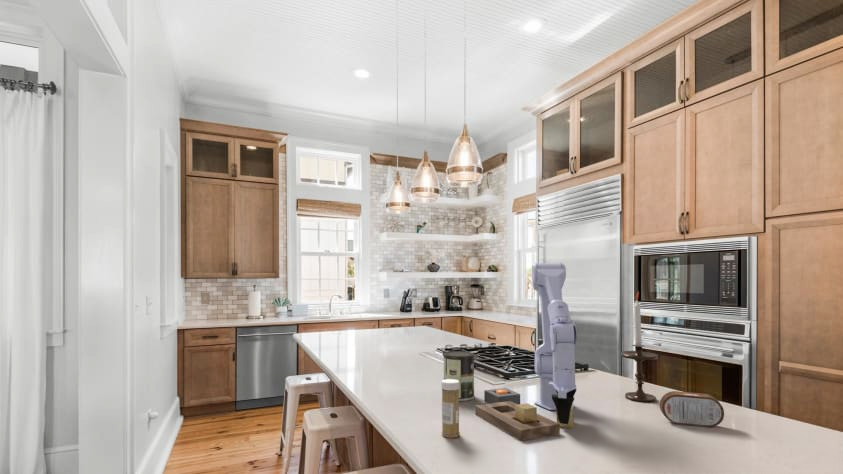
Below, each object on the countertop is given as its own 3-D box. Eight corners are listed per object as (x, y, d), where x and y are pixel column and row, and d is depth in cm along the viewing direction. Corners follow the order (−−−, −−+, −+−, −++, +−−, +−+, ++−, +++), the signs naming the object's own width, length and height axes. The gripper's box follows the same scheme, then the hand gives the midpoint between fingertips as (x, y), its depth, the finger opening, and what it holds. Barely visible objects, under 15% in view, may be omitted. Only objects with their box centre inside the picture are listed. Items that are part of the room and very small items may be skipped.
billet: (527, 426, 118) (527, 403, 119) (537, 431, 115) (536, 407, 115) (515, 428, 117) (514, 404, 117) (524, 433, 113) (523, 409, 114)
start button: (503, 396, 141) (503, 389, 141) (510, 399, 138) (510, 391, 138) (494, 397, 140) (493, 390, 140) (500, 400, 136) (500, 392, 137)
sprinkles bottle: (463, 436, 111) (463, 381, 112) (448, 439, 108) (448, 383, 110) (452, 430, 115) (452, 377, 116) (437, 434, 112) (437, 379, 113)
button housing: (505, 398, 144) (505, 387, 144) (520, 405, 136) (520, 394, 137) (484, 401, 141) (484, 390, 141) (498, 408, 133) (498, 396, 134)
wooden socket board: (510, 409, 133) (510, 400, 133) (559, 434, 112) (559, 423, 113) (475, 414, 128) (475, 405, 128) (520, 440, 108) (520, 430, 108)
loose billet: (558, 421, 122) (557, 399, 122) (573, 423, 120) (572, 401, 121) (556, 426, 118) (556, 403, 119) (572, 428, 117) (572, 405, 117)
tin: (722, 426, 119) (720, 393, 120) (726, 430, 116) (724, 397, 117) (660, 420, 124) (658, 389, 124) (662, 424, 121) (661, 392, 121)
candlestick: (667, 401, 142) (662, 291, 144) (641, 405, 138) (637, 291, 140) (639, 392, 152) (635, 290, 155) (614, 395, 148) (611, 290, 151)
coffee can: (472, 392, 151) (472, 350, 152) (476, 401, 141) (475, 356, 142) (442, 392, 151) (442, 350, 153) (443, 401, 141) (443, 356, 142)
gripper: (551, 361, 129) (552, 409, 128) (545, 371, 115) (546, 425, 114) (577, 363, 126) (578, 412, 125) (574, 374, 113) (575, 429, 112)
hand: (565, 419), depth 119 cm, fingers open, 7 cm apart
